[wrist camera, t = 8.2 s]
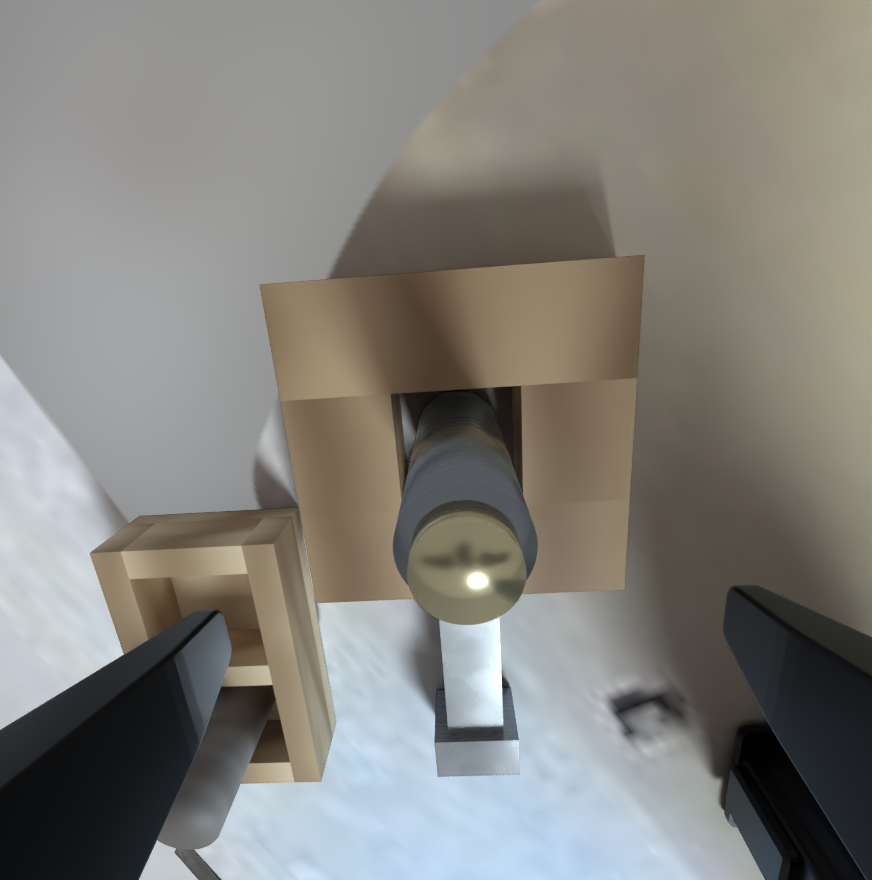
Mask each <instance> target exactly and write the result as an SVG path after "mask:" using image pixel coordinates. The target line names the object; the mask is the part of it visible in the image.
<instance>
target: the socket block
mask: <svg viewBox="0 0 872 880" xmlns="http://www.w3.org/2000/svg"><path fill="white" fill-rule="evenodd" d="M643 272H644V255H639V256H626V257H613V258H600V259H587V260H574V261H561V262H548V263H535V264H522V265H509V266H495V267H482V268H469V269H456V270H443V271H430V272H417V273H404V274H391V275H378V276H365V277H352V278H339V279H325V280H312V281H299V282H286V283H273V284H260V289H261V295H262V300H263V306H264V312H265V318H266V323H267V329H268V335H269V340H270V346H271V352H272V357H273V363H274V368H275V374H276V379H277V385H278V391H279V397H280V402H281V408H282V414H283V419H284V425H285V431H286V436H287V442H288V448H289V453H290V459H291V465H292V470H293V476H294V482H295V487H296V493H297V498H298V504H299V510H300V515H301V521H302V527H303V532H304V538H305V544H306V549H307V555H308V561H309V566H310V572H311V578H312V583H313V589H314V594H315V600H316V603H329V602H351V601H374V600H397V599H414V597H413V595H412V593H411V591H410V589H409V586H408V585H407V584H406V583H405V581H404V580H403V578H402V577H401V575H400V573H399V571H398V569H397V567H396V564H395V561H394V555H393V537H394V532H395V528H396V523H397V519H398V514H399V510H400V505H401V501H402V496H403V492H404V487H405V483H406V478H407V466H406V456H405V446H404V435H403V425H402V415H401V405H400V394H399V393H414V392H429V391H445V390H460V389H476V388H491V387H507V386H512V396H513V441H514V470H515V473H516V476H517V478H518V481H519V484H520V487H521V490H522V493H523V496H524V498H525V501H526V504H527V507H528V510H529V513H530V516H531V518H532V521H533V524H534V527H535V530H536V534H537V541H538V551H537V558H536V562H535V565H534V568H533V570H532V572H531V574H530V576H529V578H528V579H527V580H526V583H525V587H524V590H523V592H522V594H535V593H558V592H580V591H603V590H624V588H625V571H626V555H627V538H628V521H629V505H630V488H631V471H632V455H633V438H634V422H635V405H636V388H637V372H638V355H639V339H640V322H641V305H642V289H643Z"/></svg>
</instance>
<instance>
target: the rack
mask: <svg viewBox="0 0 872 880" xmlns="http://www.w3.org/2000/svg"><path fill="white" fill-rule="evenodd" d="M90 556H91V558H92V561H93V564H94V567H95V570H96V573H97V576H98V579H99V582H100V585H101V588H102V591H103V594H104V597H105V600H106V603H107V606H108V609H109V612H110V615H111V618H112V620H113V623H114V626H115V629H116V632H117V635H118V638H119V641H120V644H121V647H122V650H123V653H124V654H126V653H127V652H129V651H131V650H132V649H134V648H136V647H137V646H139V645H141V644H142V643H144V642H146V641H147V640H149V639H150V638H152V637H154V636H155V635H157V634H159V633H160V632H162V631H164V630H165V629H167V628H169V627H170V626H172V625H173V624H175V623H177V622H178V621H180V620H182V619H183V618H185V617H187V616H188V615H190V614H192V613H193V612H195V611H198V610H211V609H218V610H220V611H221V612H222V613H223V615H224V619H225V623H226V626H227V630H228V634H229V638H230V642H231V649H232V652H231V659H230V662H229V665H228V668H227V671H226V674H225V676H224V679H223V682H222V685H221V688H220V691H219V694H218V697H217V699H216V702H215V705H214V708H213V711H212V714H211V717H210V720H209V722H208V725H207V728H206V731H205V734H204V736H203V739H202V742H201V744H200V747H199V749H198V751H197V753H196V756H195V758H194V760H193V763H192V765H191V767H190V769H189V771H188V773H187V776H186V778H185V780H184V782H183V784H182V787H181V789H180V791H179V793H178V795H177V797H176V800H175V802H174V804H173V806H172V808H171V811H170V813H169V815H168V817H167V819H166V821H165V824H164V826H163V828H162V830H161V832H160V835H159V837H158V839H157V840H158V841H159V842H161V843H163V844H165V845H168V846H170V847H174V848H178V849H185V850H192V849H200V848H203V847H206V846H208V845H210V844H212V843H213V842H214V841H215V840H216V839H217V838H218V836H219V834H220V832H221V829H222V827H223V825H224V822H225V820H226V817H227V815H228V813H229V810H230V808H231V805H232V803H233V801H234V798H235V796H236V794H237V791H238V789H239V786H240V784H247V783H286V782H321V780H322V776H323V772H324V768H325V764H326V761H327V757H328V753H329V749H330V745H331V741H332V737H333V733H334V730H335V726H336V718H335V712H334V707H333V701H332V696H331V690H330V684H329V679H328V673H327V667H326V662H325V656H324V651H323V645H322V639H321V634H320V628H319V622H318V617H317V611H316V606H315V600H314V594H313V589H312V583H311V577H310V572H309V566H308V561H307V555H306V549H305V544H304V538H303V532H302V527H301V521H300V516H299V510H298V508H280V509H261V510H243V511H224V512H205V513H186V514H168V515H149V516H139V517H137V518H136V519H135V520H134V521H132V522H131V523H129V524H128V525H127V526H125V527H124V528H123V529H121V530H120V531H119V532H117V533H116V534H115V535H113V536H112V537H111V538H109V539H108V540H107V541H105V542H104V543H103V544H101V545H100V546H99V547H97V548H96V549H95V550H93V551H92V552H91V553H90Z"/></svg>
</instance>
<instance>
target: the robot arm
mask: <svg viewBox="0 0 872 880" xmlns="http://www.w3.org/2000/svg"><path fill="white" fill-rule="evenodd" d="M723 632H724V636H725V639H726V641H727V643H728V645H729V647H730V649H731V651H732V653H733V655H734V657H735V659H736V661H737V663H738V665H739V667H740V669H741V671H742V673H743V675H744V677H745V679H746V681H747V683H748V685H749V687H750V689H751V691H752V693H753V695H754V696H755V698H756V700H757V702H758V704H759V706H760V708H761V710H762V712H763V714H764V716H765V718H766V720H767V721H768V723H769V724H767V725H747V726H744V727H742V728H740V729H739V731H738V733H737V739H736V745H735V751H734V757H733V763H732V768H731V770H730V775H729V782H728V788H727V794H726V800H725V805H726V806H725V812H724V813H725V817H726V819H727V821H728V822H729V824H730V825H731V826H733V827H738V829H739V831H740V833H741V835H742V837H743V839H744V841H745V842H746V844H747V846H748V848H749V850H750V852H751V854H752V856H753V858H754V859H755V861H756V863H757V865H758V867H759V869H760V871H761V873H762V875H763V876H764V878H765V880H872V637H870V636H868V635H866V634H863V633H861V632H859V631H857V630H855V629H852V628H850V627H848V626H846V625H844V624H841V623H839V622H837V621H835V620H833V619H830V618H828V617H826V616H824V615H822V614H819V613H817V612H815V611H813V610H811V609H808V608H806V607H804V606H802V605H800V604H797V603H795V602H793V601H791V600H789V599H786V598H784V597H782V596H780V595H778V594H775V593H773V592H771V591H769V590H767V589H764V588H762V587H760V586H757V585H739V586H732V587H731V588H729V590H728V593H727V598H726V606H725V613H724V620H723ZM231 652H232V649H231V642H230V638H229V634H228V630H227V626H226V623H225V619H224V615H223V613H222V612H221V611H220V610H218V609H211V610H198V611H195V612H193V613H192V614H190V615H188V616H187V617H185V618H183V619H182V620H180V621H178V622H177V623H175V624H173V625H172V626H170V627H169V628H167V629H165V630H164V631H162V632H160V633H159V634H157V635H155V636H154V637H152V638H150V639H149V640H147V641H146V642H144V643H142V644H141V645H139V646H137V647H136V648H134V649H132V650H131V651H129V652H127V653H126V654H124V655H123V656H121V657H119V658H118V659H116V660H114V661H113V662H111V663H109V664H108V665H106V666H104V667H103V668H101V669H100V670H98V671H96V672H95V673H93V674H91V675H90V676H88V677H86V678H85V679H83V680H81V681H80V682H78V683H77V684H75V685H73V686H72V687H70V688H68V689H67V690H65V691H63V692H62V693H60V694H58V695H57V696H55V697H54V698H52V699H50V700H49V701H47V702H45V703H44V704H42V705H40V706H39V707H37V708H35V709H34V710H32V711H31V712H29V713H27V714H26V715H24V716H22V717H21V718H19V719H17V720H16V721H14V722H12V723H11V724H9V725H8V726H6V727H4V728H3V729H1V730H0V880H139V878H140V876H141V874H142V872H143V869H144V867H145V865H146V863H147V861H148V859H149V856H150V854H151V852H152V850H153V848H154V845H155V843H156V841H157V839H158V837H159V835H160V832H161V830H162V828H163V826H164V824H165V821H166V819H167V817H168V815H169V813H170V811H171V808H172V806H173V804H174V802H175V800H176V797H177V795H178V793H179V791H180V789H181V787H182V784H183V782H184V780H185V778H186V776H187V773H188V771H189V769H190V767H191V765H192V763H193V760H194V758H195V756H196V753H197V751H198V749H199V747H200V744H201V742H202V739H203V736H204V734H205V731H206V728H207V725H208V722H209V720H210V717H211V714H212V711H213V708H214V705H215V702H216V699H217V697H218V694H219V691H220V688H221V685H222V682H223V679H224V676H225V674H226V671H227V668H228V665H229V662H230V659H231Z"/></svg>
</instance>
